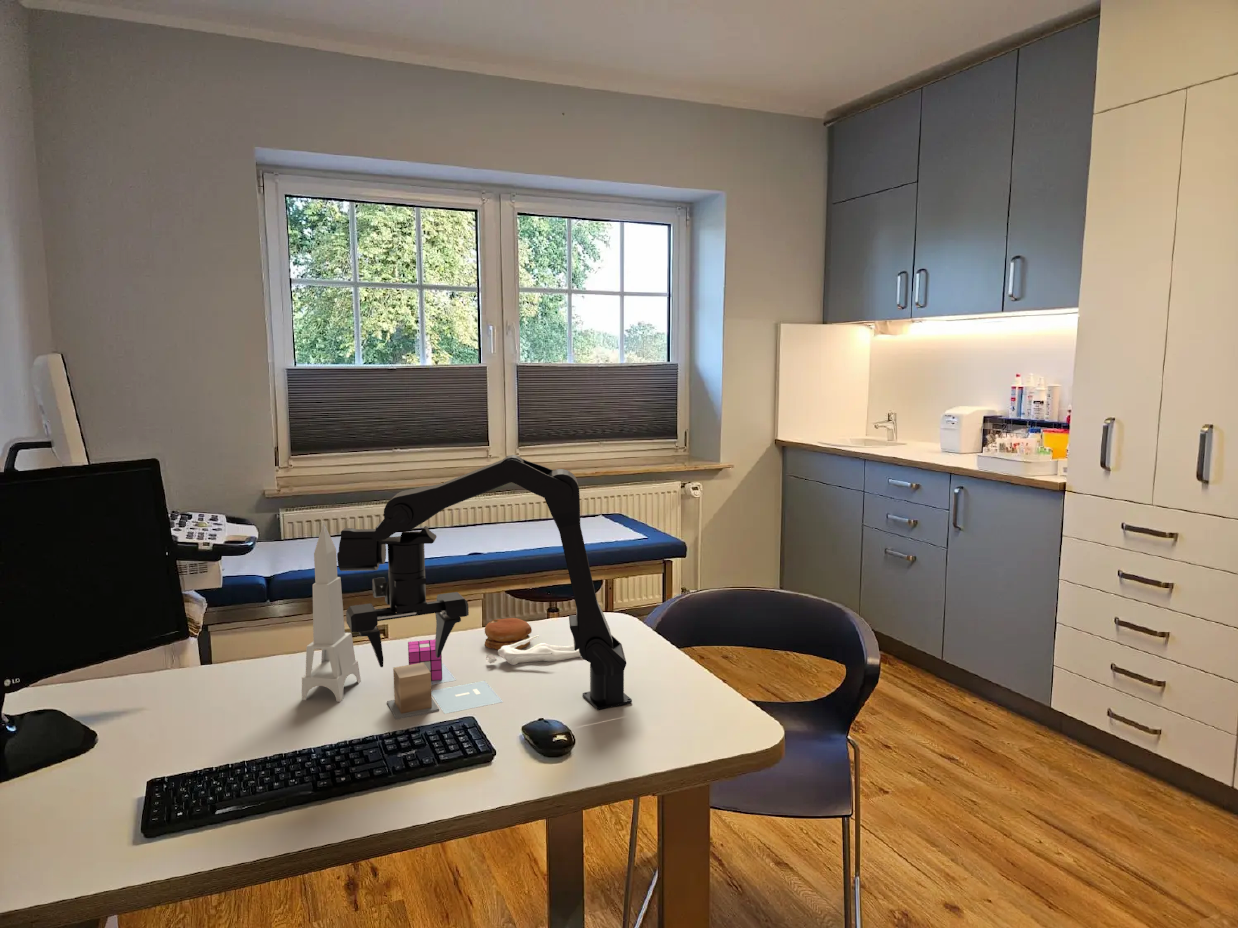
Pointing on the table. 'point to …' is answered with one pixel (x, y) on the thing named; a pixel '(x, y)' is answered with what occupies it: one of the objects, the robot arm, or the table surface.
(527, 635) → the burger
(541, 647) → the figurine
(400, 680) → the walnut block
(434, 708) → the pad
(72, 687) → the table surface
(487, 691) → the code card
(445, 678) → the code card
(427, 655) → the puzzle toy
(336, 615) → the sculpture
